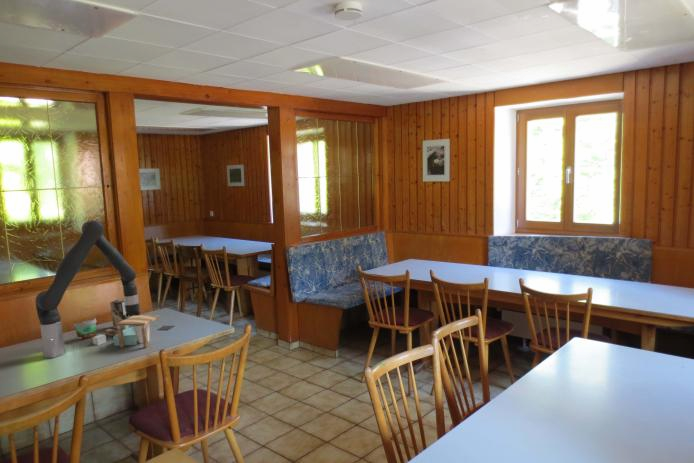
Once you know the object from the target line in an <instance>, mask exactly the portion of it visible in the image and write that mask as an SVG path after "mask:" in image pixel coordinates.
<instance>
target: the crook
mask: <svg viewBox="0 0 694 463" xmlns="http://www.w3.org/2000/svg"><path fill="white" fill-rule="evenodd" d="M122 330H123V338H124V346H136V345H138V340H137V336H136V333H135V329H134V326H133V325H131V326H129V327H128V328H126V329H122ZM112 339H113V346H114V347H117V346H119V347H120V344H119V336H118V334H117V335H115V336H113V337H112Z"/></svg>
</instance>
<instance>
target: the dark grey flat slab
mask: <svg viewBox="0 0 694 463" xmlns="http://www.w3.org/2000/svg"><path fill="white" fill-rule="evenodd" d="M174 327H175V325H163V326H161V327H159V328H158V329H156V331H169V330H171V329H172V328H174Z"/></svg>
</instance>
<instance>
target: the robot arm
mask: <svg viewBox="0 0 694 463" xmlns="http://www.w3.org/2000/svg"><path fill="white" fill-rule="evenodd" d="M104 230H105V229H104V224H103V223H101V221H98V220H89V221H86V222H84V223H83V224H82V226H81V232H82V234H81V236H80V238H79V239H78V241H77V242H76V243H75V244H74V245H73V246H72V247H71V248H70V250H68V252H67V253H66V254H65V256H64V257H63V259H61V262H60V263H59V265H58V267H57V270H56V272H55V276H54V278H53V282H52V283H51V285H50V287H49V288H48V289H47V290H44V291H40V292H39V293H38V294H37V295H36V297H35V309H36V312H37V318H38V320H39V324H40V332H41V338H42V339H41V340H40V342H41V348H42V349H41V350H42V355H43V358H45V359H48V358H49V359H50V358H52V359H53V358H57V357H60V356H63V355H64V354H66V345H65V344H66V343H65V339H64V338H65V337H64V332H63V326H62V324H63V323H62V318H61V315H60V312H59V310H58V306H59V305H60V303H61V301H62V299H63V297H64V295H65V293H66V291H67V289H68V287H69V286H70V284H71V283H72V281H73V280H74V278H75V276H76V275H77V274H78V272H79V270H80V269H81V267H82V266H83V264H84V262H85V261H86V259H87V257H88V255H89V253H90V251H91V250H92V248H93V246H94V245H95V246H96V247H97V249H98V250H99V251H100V252H101V253H102V254H103V256H104V257H105V258H106V259H107V261H108V262H109V263H110V264H111V265H112V267H113V268H115V269H116V271H117V272H118V273H119V274H120V275H119V276H120V282H121V285H122V289H123V291H122V292H123V300H124V303H125V311H126V315H123V316H122V318H123V320H125V319H127V317H128V318H129V317H131V316H133V315H143V314H142V313H141V311H140V309H141V308H140V299H139V295H138V289H137V285H136V283H135V279H136V278H137V273H136V271H135V269H134V268H133V267H132V266H131V265H130V264H129V263H128V262H127V260H126V259H125V257H124V256H123V255H122V254H121V253H120V252H119V250H118V249H117V248H116V247H115V246H114V245H113V244H111V243H110V241H108V239H107V238H106V237H105V235H104ZM128 326H131V325H128Z"/></svg>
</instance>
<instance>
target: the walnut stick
mask: <svg viewBox="0 0 694 463" xmlns="http://www.w3.org/2000/svg"><path fill="white" fill-rule="evenodd" d="M117 334H118V329H114V328H113V329H111V328H107V329H105V330H104V335H106V336H113V337H114V336H115V335H117Z"/></svg>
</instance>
